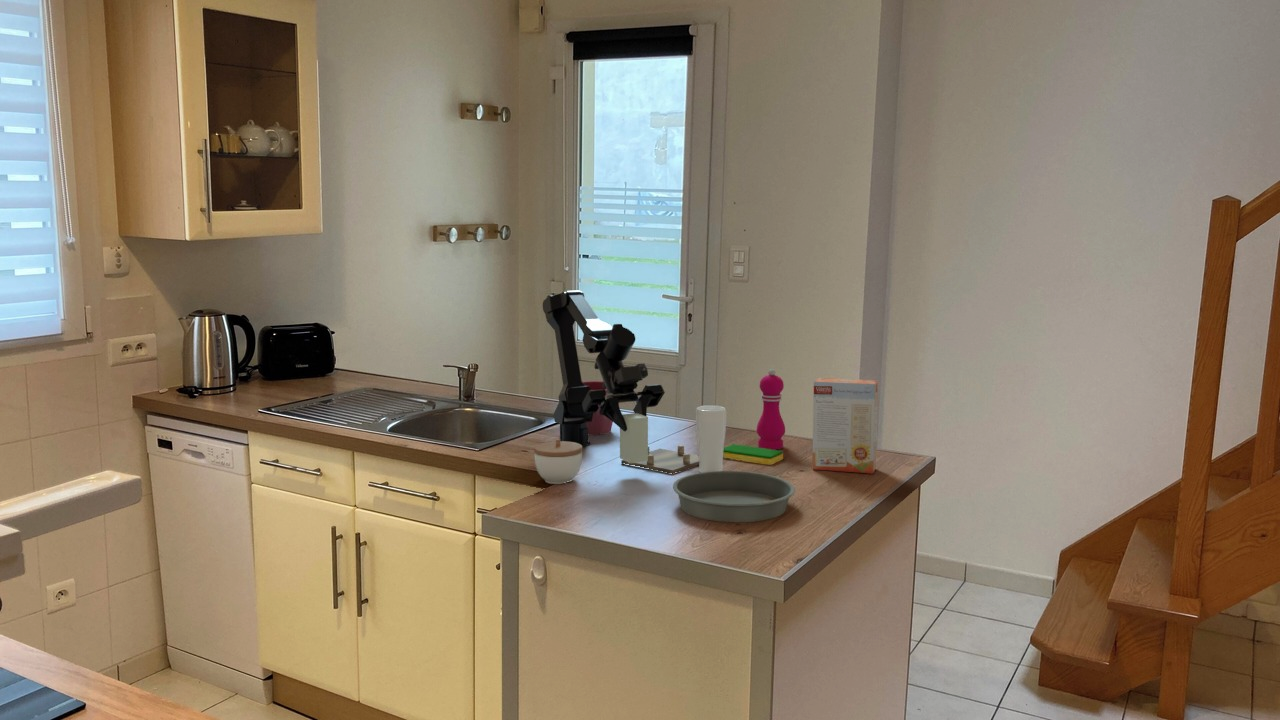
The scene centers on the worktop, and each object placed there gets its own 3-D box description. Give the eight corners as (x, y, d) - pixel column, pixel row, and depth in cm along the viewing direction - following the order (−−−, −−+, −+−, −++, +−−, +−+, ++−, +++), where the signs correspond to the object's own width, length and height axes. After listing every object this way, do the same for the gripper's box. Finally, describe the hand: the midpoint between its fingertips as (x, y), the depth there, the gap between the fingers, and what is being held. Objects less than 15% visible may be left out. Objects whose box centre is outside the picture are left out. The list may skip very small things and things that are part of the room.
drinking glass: (705, 477, 224) (706, 411, 222) (690, 470, 230) (690, 406, 228) (731, 474, 227) (731, 409, 225) (715, 467, 233) (716, 404, 231)
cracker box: (876, 468, 231) (879, 379, 228) (873, 474, 226) (876, 383, 223) (815, 463, 236) (817, 376, 233) (811, 469, 230) (813, 380, 227)
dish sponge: (732, 453, 248) (732, 443, 248) (783, 460, 241) (783, 450, 241) (718, 458, 243) (719, 449, 242) (770, 466, 235) (770, 456, 235)
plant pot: (608, 438, 263) (608, 390, 261) (559, 435, 267) (559, 388, 266) (627, 428, 276) (627, 382, 274) (581, 424, 281) (580, 379, 279)
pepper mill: (784, 450, 249) (785, 371, 246) (755, 449, 250) (756, 370, 247) (785, 444, 256) (787, 367, 253) (757, 443, 257) (758, 366, 254)
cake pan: (707, 532, 186) (707, 509, 185) (653, 498, 208) (653, 477, 208) (818, 516, 196) (819, 494, 195) (755, 485, 218) (755, 465, 217)
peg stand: (621, 464, 236) (621, 452, 235) (659, 452, 247) (659, 440, 247) (672, 474, 227) (672, 461, 226) (710, 461, 238) (710, 449, 238)
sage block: (619, 458, 226) (619, 414, 224) (637, 455, 228) (637, 412, 226) (629, 463, 222) (629, 418, 220) (647, 460, 224) (648, 417, 222)
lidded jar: (580, 473, 228) (579, 433, 227) (585, 485, 218) (585, 443, 216) (532, 475, 226) (532, 435, 225) (536, 488, 216) (535, 445, 214)
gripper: (587, 354, 221) (609, 412, 213) (661, 349, 229) (684, 404, 221) (572, 384, 229) (593, 441, 221) (644, 378, 237) (667, 432, 229)
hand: (635, 429), depth 223 cm, fingers closed on sage block, 4 cm apart
